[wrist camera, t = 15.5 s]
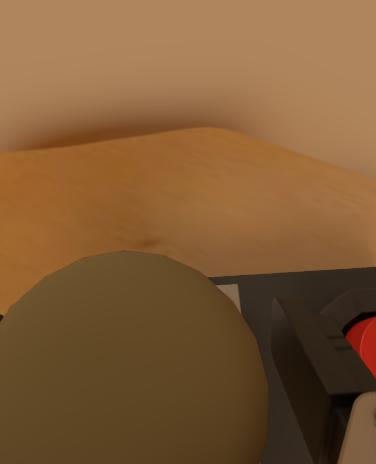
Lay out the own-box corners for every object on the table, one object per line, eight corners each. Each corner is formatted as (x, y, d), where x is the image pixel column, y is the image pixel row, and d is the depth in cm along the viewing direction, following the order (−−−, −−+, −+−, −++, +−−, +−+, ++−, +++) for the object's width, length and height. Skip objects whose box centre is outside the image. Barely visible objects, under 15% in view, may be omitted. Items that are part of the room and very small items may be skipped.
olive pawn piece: (145, 502, 13) (-3, 933, 3) (66, 370, 15) (-187, 354, 5) (259, 395, 14) (422, 438, 4) (174, 287, 16) (154, 144, 6)
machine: (91, 489, 17) (60, 525, 13) (99, 295, 21) (77, 275, 17) (435, 462, 18) (511, 488, 13) (380, 277, 22) (425, 254, 17)
